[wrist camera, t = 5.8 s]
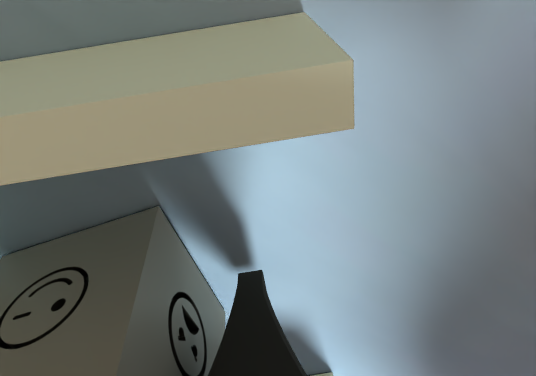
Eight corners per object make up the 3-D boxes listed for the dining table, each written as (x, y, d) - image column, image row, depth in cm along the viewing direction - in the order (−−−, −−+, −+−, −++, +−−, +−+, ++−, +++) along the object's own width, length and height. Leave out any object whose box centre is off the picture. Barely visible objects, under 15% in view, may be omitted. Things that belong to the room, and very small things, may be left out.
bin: (333, 385, 17) (359, 497, 13) (71, 426, 17) (31, 548, 13) (304, 12, 8) (353, 59, 5) (-211, 95, 9) (-495, 197, 5)
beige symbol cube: (158, 205, 11) (115, 379, 7) (225, 312, 14) (223, 481, 9) (2, 256, 11) (-128, 446, 7) (97, 348, 14) (42, 523, 10)
